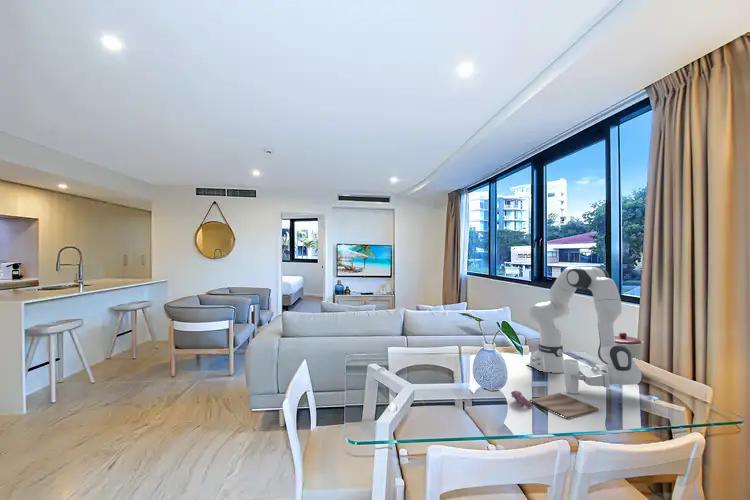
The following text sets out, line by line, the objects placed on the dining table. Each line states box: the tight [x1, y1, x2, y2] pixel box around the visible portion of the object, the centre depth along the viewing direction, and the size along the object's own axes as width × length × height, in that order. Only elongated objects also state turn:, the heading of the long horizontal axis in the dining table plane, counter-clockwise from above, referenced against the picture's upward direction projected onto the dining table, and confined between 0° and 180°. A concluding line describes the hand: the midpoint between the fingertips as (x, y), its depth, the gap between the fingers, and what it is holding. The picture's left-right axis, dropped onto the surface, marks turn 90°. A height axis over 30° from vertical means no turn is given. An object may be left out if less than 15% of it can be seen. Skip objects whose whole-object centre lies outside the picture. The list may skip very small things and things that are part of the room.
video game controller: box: [510, 389, 533, 408], centre depth 164 cm, size 10×5×7 cm, turn 6°
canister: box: [614, 332, 644, 361], centre depth 203 cm, size 18×18×21 cm
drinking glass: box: [562, 358, 580, 395], centre depth 174 cm, size 7×7×15 cm
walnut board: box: [529, 392, 600, 419], centre depth 160 cm, size 20×18×1 cm
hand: (569, 373), depth 175 cm, fingers closed on drinking glass, 6 cm apart
